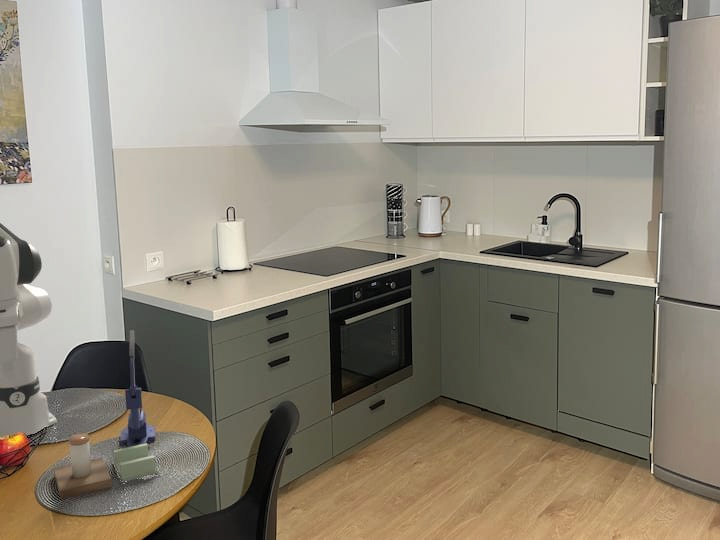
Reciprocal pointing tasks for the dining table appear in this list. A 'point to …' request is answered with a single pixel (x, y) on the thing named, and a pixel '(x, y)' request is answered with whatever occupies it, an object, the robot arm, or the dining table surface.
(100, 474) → the board
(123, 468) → the rack
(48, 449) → the dining table surface
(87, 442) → the mushroom
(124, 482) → the mat
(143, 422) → the hand press
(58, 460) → the dining table surface
